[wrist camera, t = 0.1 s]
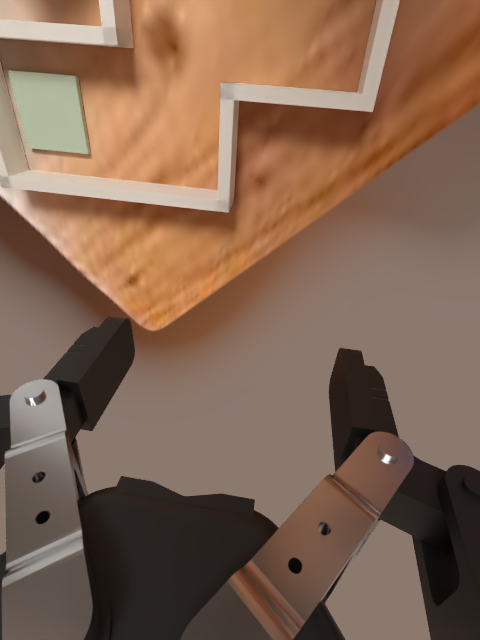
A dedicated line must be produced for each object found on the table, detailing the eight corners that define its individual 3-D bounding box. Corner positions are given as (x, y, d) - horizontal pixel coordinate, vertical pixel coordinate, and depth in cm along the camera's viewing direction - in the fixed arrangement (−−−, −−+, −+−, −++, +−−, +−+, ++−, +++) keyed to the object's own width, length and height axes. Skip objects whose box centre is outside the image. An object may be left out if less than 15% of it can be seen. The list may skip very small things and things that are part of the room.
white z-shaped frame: (-69, -146, 28) (-112, -172, 25) (422, -131, 24) (438, -159, 22) (22, 179, 42) (1, 187, 39) (341, 214, 39) (344, 225, 36)
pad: (11, 70, 35) (7, 70, 35) (78, 75, 35) (74, 75, 34) (31, 147, 39) (27, 147, 39) (90, 153, 39) (88, 154, 38)
